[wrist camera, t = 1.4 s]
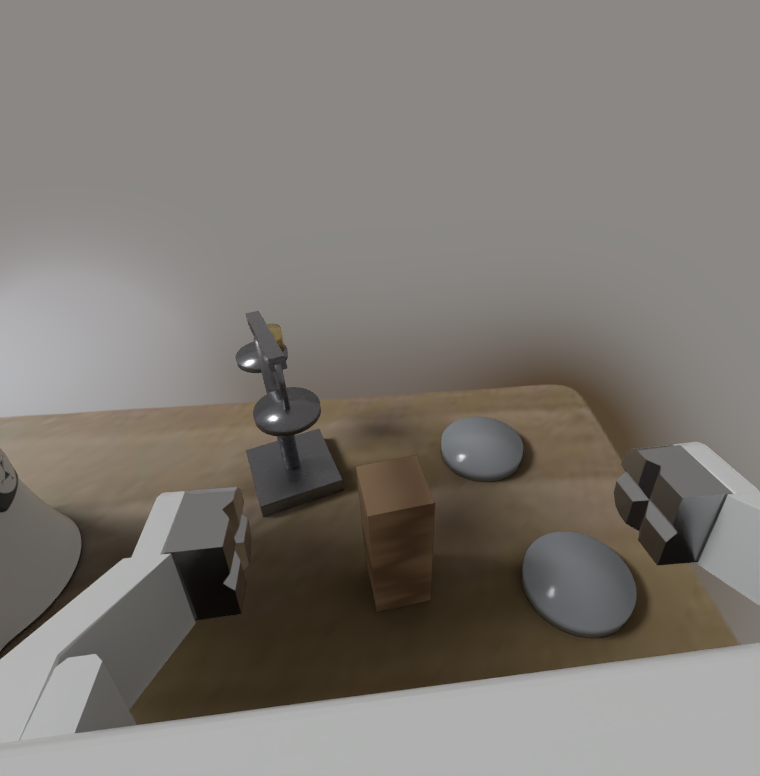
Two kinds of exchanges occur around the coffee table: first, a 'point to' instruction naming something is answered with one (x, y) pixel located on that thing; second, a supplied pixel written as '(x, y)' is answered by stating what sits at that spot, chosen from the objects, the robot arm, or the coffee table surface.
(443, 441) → the grey flat pebble
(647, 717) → the robot arm
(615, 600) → the grey oval dome
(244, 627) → the coffee table surface
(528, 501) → the coffee table surface
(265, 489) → the balance
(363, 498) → the pillar
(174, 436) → the coffee table surface
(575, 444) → the coffee table surface
